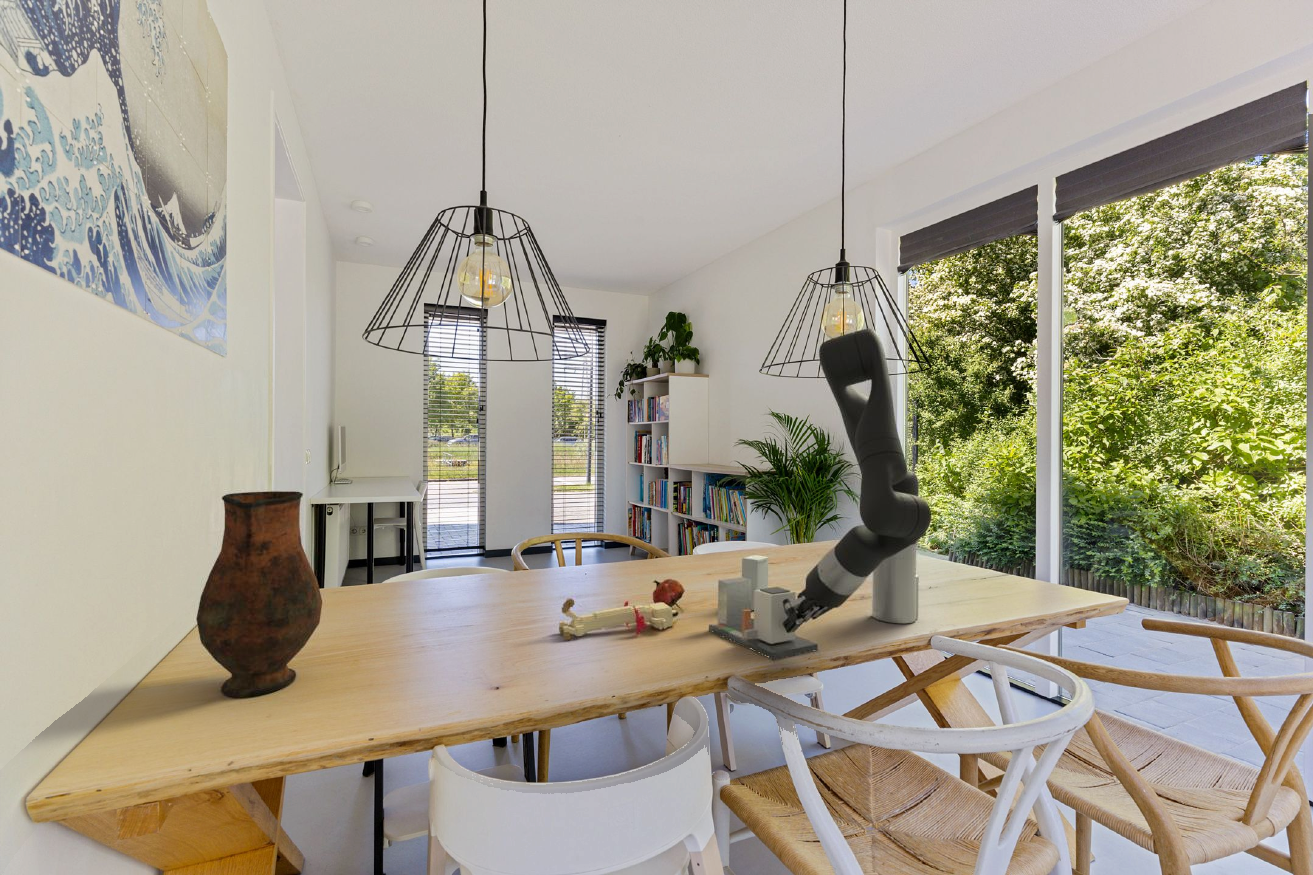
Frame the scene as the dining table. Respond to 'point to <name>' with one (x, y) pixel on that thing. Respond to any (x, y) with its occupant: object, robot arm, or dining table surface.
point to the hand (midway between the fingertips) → (787, 628)
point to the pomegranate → (668, 592)
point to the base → (730, 605)
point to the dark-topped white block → (770, 615)
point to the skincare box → (756, 573)
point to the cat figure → (617, 618)
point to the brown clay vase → (259, 594)
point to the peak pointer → (746, 620)
